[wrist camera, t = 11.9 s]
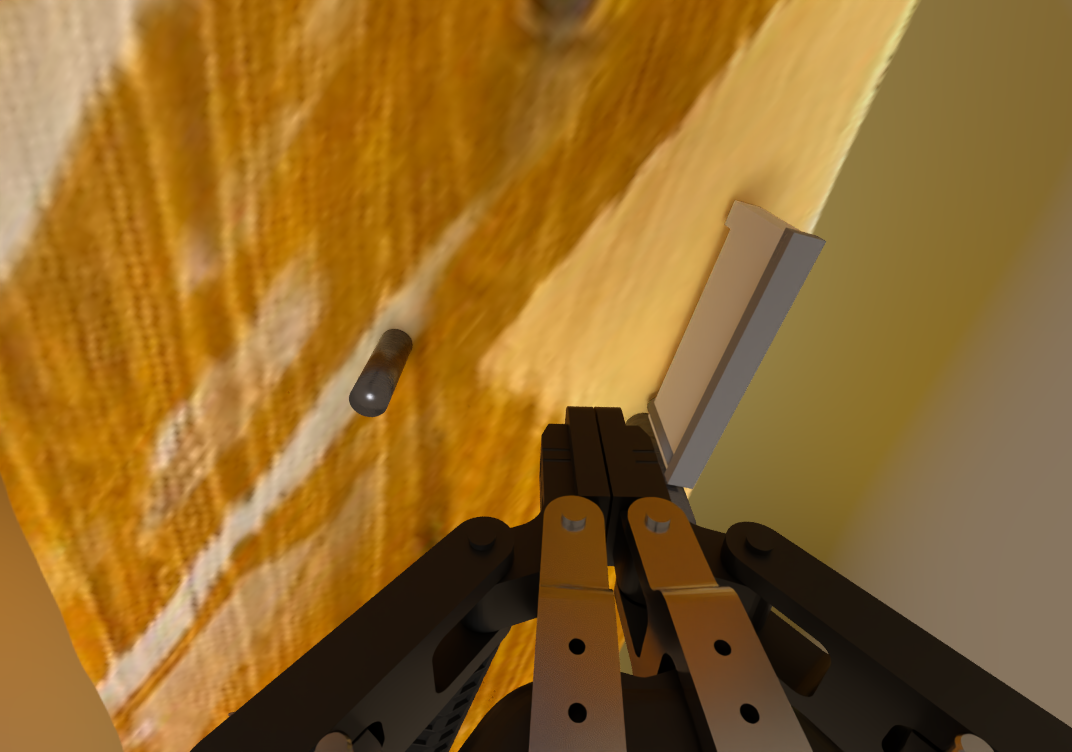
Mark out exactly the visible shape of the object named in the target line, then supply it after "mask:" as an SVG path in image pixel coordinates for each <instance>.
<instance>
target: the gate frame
mask: <svg viewBox="0 0 1072 752" xmlns="http://www.w3.org/2000/svg"><path fill="white" fill-rule="evenodd" d="M411 349H412V341H411V339H410V337H409V336H408V335H407V334H406V333H405V332H403V331H401V330H396V329H392V330H388V331H386V332H385V333H384V334H383V335H382V337H381V338H380V340H379V342H378V344H377V346H376V347H375V349H374V351H373V353H372V355H371V357H370V358H369V360H368V362H367V364H366V366H365V367H364V369H363V371H362V373H361V375H360V376H359V378H358V380H357V382H356V384H355V386H354V387H353V389H352V391H351V393H350V395H349V402H350V405H351V406H352V408H353V409H354V410H355V411H356V412H357V413H359V414H361V415H363V416H367V417H376V416H379V415H381V414H383V413H384V412H385V411H386V409H387V407H388V404H389V402H390V399H391V397H392V395H393V392H394V390H395V387H396V385H397V383H398V380H399V378H400V376H401V373H402V371H403V368H404V366H405V364H406V361H407V359H408V356H409V354H410V352H411ZM648 415H649V414H647V413H641V414H637V415H634V416H633V417H631V418H630V419H629V420H628V421H627V422H626V425H635V426H640V427H641V428H642V429H643V430H644V431H645V432H646V433H647V434H648V435H649V436H650V438H651V441H652V444H653V447H654V450H655V453H656V456H657V459H658V464H659V465H660V468H661V471H662V474H663V477H664V480H665V483H666V486H667V489H668V492H669V495H670V498H671V501H672V503H674V504H675V505H677V506H678V507H679V508H680V509H682V511H683V512H684V513H685V515H686V517H687V519H688V521H689V522H691V523H693V524H695V525H696V521H695V518H694V515H693V512H692V510H691V507H690V504H689V501H688V499H687V496H686V493H685V491H684V488H683V487H680V486H675V485H670V484H667V481H666V478H665V475H664V473H665V471H666V467H665V464H664V461H663V458H662V455H661V452H660V449H659V446H658V443H657V440H656V438H655V435H654V432H653V429H652V426H651V423H650V420H649V417H648Z"/></svg>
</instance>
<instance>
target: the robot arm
mask: <svg viewBox="0 0 1072 752" xmlns="http://www.w3.org/2000/svg"><path fill="white" fill-rule="evenodd" d="M539 478H540V511H541V512H540V513H539V515H538V516H537V517H536V518H534V519H533V520H531V521H530V522H528V523H526V524H523V525H520V526H516V527H512V528H510V527H509V526H508V525H507V524H506V523H504V522H503V521H501V520H499V519H496V518H492V517H476V518H472V519H469V520H467V521H465V522H463V523H462V524H460V525H459V526H458V527H456V528H455V529H454V530H453V531H452V532H450V533H449V534H448V535H447V536H446V537H444V538H443V539H442V540H441V541H440V542H438V543H437V544H436V545H435V546H434V547H432V548H431V549H430V550H429V551H428V552H426V553H425V554H424V555H423V556H422V557H420V558H419V559H418V560H417V561H416V562H414V563H413V564H412V565H411V566H410V567H408V568H407V569H406V570H405V571H404V572H402V573H401V574H400V575H399V576H398V577H396V578H395V579H394V580H393V581H392V582H390V583H389V584H388V585H387V586H386V587H384V588H383V589H382V590H381V591H380V592H378V593H377V594H376V595H375V596H374V597H372V598H371V599H370V600H369V601H368V602H367V603H365V604H364V605H363V606H362V607H361V608H359V609H358V610H357V611H356V612H355V613H353V614H352V615H351V616H350V617H349V618H347V619H346V620H345V621H344V622H343V623H341V624H340V625H339V626H338V627H337V628H335V629H334V630H333V631H332V632H331V633H329V634H328V635H327V636H326V637H325V638H323V639H322V640H321V641H320V642H319V643H317V644H316V645H315V646H314V647H313V648H311V649H310V650H309V651H308V652H307V653H305V654H304V655H303V656H302V657H301V658H299V659H298V660H297V661H296V662H295V663H293V664H292V665H291V666H290V667H289V668H287V669H286V670H285V671H284V672H283V673H281V674H280V675H279V676H278V677H277V678H275V679H274V680H273V681H272V682H271V683H269V684H268V685H267V686H266V687H265V688H263V689H262V690H261V691H260V692H259V693H257V694H256V695H255V696H254V697H253V698H251V699H250V700H249V701H248V702H247V703H245V704H244V705H243V706H242V707H241V708H239V709H238V710H237V711H236V712H235V713H233V714H232V715H231V716H230V717H229V718H227V719H226V720H225V721H224V722H223V723H221V724H220V725H219V726H218V727H217V728H215V729H214V730H213V731H212V732H211V733H209V734H208V735H207V736H206V737H205V738H203V739H202V740H201V741H200V742H199V743H198V744H197V745H196V746H195V747H194V748H193V749H192V750H191V751H190V752H405V751H406V750H407V749H408V748H409V746H410V745H411V744H412V743H413V742H414V741H415V740H416V738H417V737H418V736H419V735H420V734H421V733H422V731H423V730H424V729H425V728H426V727H427V726H428V725H429V723H430V722H431V721H432V720H433V719H434V718H435V717H436V715H437V714H438V713H439V712H440V711H441V710H442V709H443V707H444V706H445V705H446V704H447V703H448V702H449V701H450V699H451V698H452V697H453V696H454V695H455V694H456V693H457V691H458V690H459V689H460V688H461V687H462V686H463V685H464V683H465V682H466V681H467V680H468V679H469V678H470V677H471V675H472V674H473V673H474V672H475V671H476V670H477V669H478V667H479V666H480V665H481V664H482V663H483V662H484V661H485V659H486V658H487V657H488V656H489V655H490V654H491V653H492V651H493V650H494V649H495V648H496V647H497V646H498V645H499V643H500V642H501V641H502V640H503V639H504V638H505V637H506V635H507V634H508V633H509V631H510V629H511V626H512V625H516V624H519V623H522V622H525V621H528V620H531V619H534V618H537V630H536V645H535V661H534V677H533V682H530V683H528V684H526V685H523V686H521V687H519V688H517V689H515V690H514V691H512V692H510V693H509V694H507V695H506V696H505V697H504V698H502V699H501V700H500V701H498V702H497V703H496V704H495V705H494V706H493V707H492V708H491V709H490V711H489V712H488V713H487V714H486V715H485V716H484V717H483V719H482V720H481V721H480V723H479V724H478V725H477V727H476V728H475V729H474V731H473V732H472V733H471V735H470V736H469V737H468V739H467V740H466V741H465V743H464V744H463V745H462V747H461V748H460V750H459V751H458V752H1072V728H1071V727H1069V726H1068V725H1067V724H1065V723H1064V722H1062V721H1061V720H1059V719H1058V718H1056V717H1055V716H1053V715H1052V714H1050V713H1049V712H1047V711H1045V710H1044V709H1043V708H1041V707H1040V706H1038V705H1037V704H1035V703H1034V702H1032V701H1030V700H1029V699H1027V698H1026V697H1024V696H1023V695H1021V694H1020V693H1018V692H1017V691H1015V690H1014V689H1012V688H1011V687H1009V686H1008V685H1006V684H1005V683H1003V682H1002V681H1000V680H999V679H997V678H996V677H994V676H993V675H991V674H989V673H988V672H987V671H985V670H984V669H982V668H981V667H979V666H978V665H976V664H975V663H973V662H972V661H970V660H969V659H967V658H966V657H964V656H963V655H961V654H959V653H958V652H957V651H955V650H954V649H952V648H951V647H949V646H948V645H946V644H944V643H943V642H942V641H940V640H938V639H937V638H936V637H934V636H933V635H931V634H929V633H928V632H927V631H925V630H923V629H922V628H920V627H919V626H917V625H916V624H914V623H913V622H911V621H910V620H908V619H907V618H905V617H904V616H902V615H901V614H899V613H898V612H896V611H895V610H893V609H892V608H890V607H889V606H887V605H886V604H884V603H883V602H881V601H880V600H878V599H877V598H875V597H874V596H872V595H871V594H869V593H868V592H866V591H865V590H863V589H862V588H860V587H859V586H857V585H856V584H854V583H853V582H851V581H850V580H848V579H847V578H845V577H844V576H842V575H841V574H839V573H838V572H836V571H835V570H833V569H832V568H830V567H828V566H827V565H826V564H824V563H822V562H821V561H819V560H818V559H817V558H815V557H813V556H812V555H810V554H809V553H807V552H806V551H804V550H803V549H801V548H800V547H798V546H797V545H795V544H794V543H792V542H791V541H789V540H788V539H786V538H785V537H783V536H782V535H780V534H779V533H777V532H776V531H774V530H773V529H771V528H769V527H767V526H765V525H762V524H759V523H754V522H739V523H736V524H734V525H732V526H731V527H730V528H729V529H728V531H727V533H726V534H725V533H721V532H718V531H714V530H710V529H706V528H703V527H700V526H697V525H695V524H693V523H691V522H689V521H688V519H687V517H686V515H685V513H684V512H683V511H682V509H680V508H679V507H678V506H677V505H675V504H674V503H672V501H671V498H670V495H669V492H668V489H667V486H666V483H665V480H664V477H663V474H662V471H661V468H660V465H659V464H658V459H657V456H656V453H655V450H654V447H653V444H652V441H651V438H650V436H649V435H648V434H647V433H646V432H645V431H644V430H643V429H642V428H641V427H640V426H635V425H626V424H625V421H624V417H623V413H622V410H621V408H620V407H594V409H593V407H573V406H567V408H566V418H565V424H548V426H547V427H546V429H545V431H544V432H543V434H542V438H541V457H540V475H539ZM607 566H614V567H615V573H616V581H615V587H614V593H613V590H612V589H609V582H608V568H607ZM614 596H615V599H614ZM615 600H616V604H617V609H618V613H619V617H620V621H621V625H622V629H623V633H624V637H625V641H626V644H627V649H628V653H629V657H630V661H631V665H632V671H633V675H630V674H626V673H623V672H620V662H619V649H618V636H617V623H616V611H615ZM772 606H773V607H775V608H776V609H777V610H778V611H780V612H781V613H782V614H784V615H785V616H786V617H788V618H789V619H790V620H792V621H793V622H794V623H796V624H797V625H798V626H799V627H801V628H802V629H803V630H805V631H806V632H807V633H809V634H810V635H811V636H813V637H814V638H815V639H816V640H818V641H819V642H820V643H821V644H822V645H823V646H824V647H825V648H826V650H827V651H828V653H829V654H827V653H825V652H824V651H822V650H821V649H820V648H819V647H817V646H816V645H815V644H813V643H812V642H811V641H810V640H808V639H807V638H806V637H804V636H803V635H802V634H801V633H799V632H798V631H796V630H795V629H794V628H793V627H792V626H790V625H789V624H788V623H786V622H785V621H784V620H783V619H781V618H780V617H779V616H777V615H776V614H775V613H774V612H772V611H771V608H772Z"/></svg>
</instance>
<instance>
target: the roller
mask: <svg viewBox="0 0 1072 752" xmlns="http://www.w3.org/2000/svg"><path fill="white" fill-rule="evenodd" d="M499 645H500V643H499ZM499 645H498V646H497V647H496V648H495V649H494V650H493V651H492V653H491V654H490V655H489V656H488V657H487V658H486V659H485V661H484V662H483V663H482V664H481V665H480V666H479V667H478V669H477V670H476V671H475V672H474V673H473V674H472V675H471V677H470V678H469V679H468V680H467V681H466V682H465V683H464V685H463V686H462V687H461V688H460V689H459V690H458V691H457V693H456V694H455V695H454V696H453V697H452V698H451V699H450V701H449V702H448V703H447V704H446V705H445V706H444V707H443V709H442V710H441V711H440V712H439V713H438V714H437V715H436V717H435V718H434V719H433V720H432V721H431V722H430V723H429V725H428V726H427V727H426V728H425V729H424V730H423V731H422V733H421V734H420V735H419V736H418V737H417V738H416V740H415V741H414V742H413V743H412V744H411V745H410V746H409V748H408V749H407V750H406V751H405V752H449V750H450V748H451V746H452V744H453V742H454V739H455V738H456V736H457V734H458V731H459V729H460V727H461V725H462V723H463V721H464V719H465V717H466V715H467V712H468V710H469V708H470V706H471V704H472V702H473V700H474V698H475V695H476V693H477V691H478V689H479V687H480V685H481V683H482V681H483V678H484V676H485V675H486V673H487V670H488V668H489V666H490V664H491V662H492V659H493V658H494V656H495V654H496V652H497V649H498V647H499Z"/></svg>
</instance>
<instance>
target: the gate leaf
mask: <svg viewBox="0 0 1072 752" xmlns="http://www.w3.org/2000/svg"><path fill="white" fill-rule="evenodd" d="M725 225H726V226H727V227H728V228H730V231H729V233H728V236H727V238H726V240H725V243H724V245H723V247H722V249H721V252H720V254H719V256H718V258H717V261H716V263H715V265H714V268H713V270H712V272H711V274H710V277H709V279H708V281H707V283H706V286H705V288H704V290H703V292H702V295H701V297H700V299H699V302H698V304H697V306H696V308H695V311H694V313H693V315H692V317H691V320H690V322H689V324H688V326H687V329H686V331H685V333H684V336H683V338H682V340H681V342H680V345H679V347H678V349H677V351H676V354H675V356H674V358H673V361H672V363H671V365H670V367H669V370H668V372H667V374H666V376H665V379H664V381H663V383H662V385H661V388H660V390H659V392H658V395H657V397H656V398H654V399H652V400H650V402H649V403H648V406H647V408H648V411H649V415H648V417H649V420H650V423H651V426H652V429H653V432H654V435H655V438H656V440H657V443H658V446H659V449H660V452H661V455H662V458H663V461H664V464H665V467H666V471H665V473H664V475H665V478H666V481H667V484H670V485H675V486H680V487H686V488H691V489H693V487H694V486H695V484H696V482H697V480H698V478H699V476H700V474H701V473H702V471H703V469H704V467H705V465H706V463H707V461H708V460H709V458H710V456H711V454H712V452H713V450H714V448H715V447H716V445H717V443H718V441H719V439H720V437H721V435H722V433H723V432H724V430H725V428H726V426H727V424H728V422H729V421H730V419H731V417H732V415H733V413H734V411H735V409H736V407H737V406H738V404H739V402H740V400H741V398H742V396H743V395H744V393H745V391H746V389H747V387H748V385H749V384H750V382H751V380H752V378H753V376H754V374H755V372H756V371H757V369H758V367H759V365H760V363H761V361H762V359H763V357H764V356H765V354H766V352H767V350H768V348H769V346H770V344H771V342H772V341H773V339H774V337H775V335H776V333H777V332H778V330H779V328H780V326H781V324H782V322H783V320H784V319H785V317H786V315H787V313H788V311H789V309H790V308H791V306H792V304H793V302H794V300H795V298H796V296H797V294H798V292H799V291H800V289H801V287H802V285H803V283H804V281H805V280H806V278H807V276H808V274H809V272H810V270H811V268H812V266H813V265H814V263H815V261H816V259H817V257H818V255H819V254H820V252H821V250H822V248H823V246H824V244H825V243H826V241H825V240H823V239H821V238H820V237H818V236H816V235H812V234H808V233H805V232H801V231H800V230H798V229H796V228H795V227H793V226H791V225H790V224H788V223H786V222H785V221H783V220H781V219H780V218H778V217H776V216H775V215H773V214H771V213H769V212H768V211H766V210H764V209H763V208H761V207H758V206H755V205H751V204H747V203H744V202H740V201H736V200H735V201H734V203H733V206H732V208H731V210H730V213H729V215H728V217H727V220H726V222H725Z"/></svg>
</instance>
